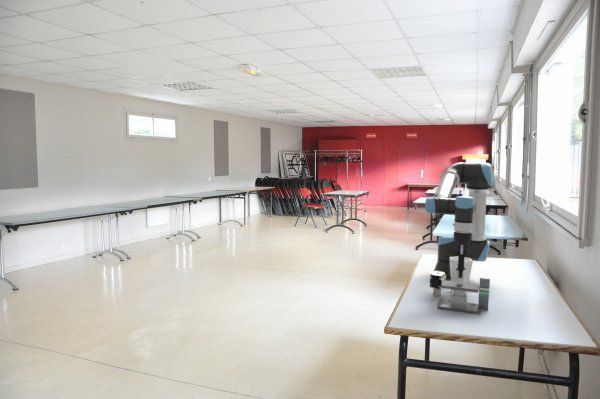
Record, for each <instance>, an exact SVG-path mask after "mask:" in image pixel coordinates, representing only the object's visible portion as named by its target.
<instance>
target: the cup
mask: <svg viewBox="0 0 600 399" xmlns="http://www.w3.org/2000/svg"><path fill="white" fill-rule="evenodd" d="M473 262H474V261H473V260H472V259H471V258H466V257H464V268H466V269H465V270H464V279H463V283H470V278H471V274H472V273H471V272H472V268H473ZM456 268H458V256H457V257H450V274H451V279H450V281H454V282H457V270H456ZM450 290H451V292H452V291H453V292H455V290H452V289H450ZM464 293H467V294H468V291H464Z"/></svg>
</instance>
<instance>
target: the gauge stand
mask: <svg viewBox="0 0 600 399" xmlns="http://www.w3.org/2000/svg"><path fill="white" fill-rule="evenodd" d="M490 284H491V279H490V278H484V277H479V283H478V287H479V288H487V289H489V291H487V290H479V289H478V299H477V300H478V303H473V302H467V301H468V292H467V293H464V296H456V295H454V294H455V292H453V291H451V295H450V296H451V297H450V300H449V299H442V298H441V299H440V298H439V299H438V304H437V310H444V311H450V312H451V311H454V312H459V313H466V314H472V315H473V314H474V315H480V314H481V312H480V311H486V312H488V311H489V302H490V300H489V299H490Z"/></svg>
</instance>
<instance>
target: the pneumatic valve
mask: <svg viewBox="0 0 600 399" xmlns="http://www.w3.org/2000/svg"><path fill="white" fill-rule="evenodd" d="M443 280H445V281H447V279H446V276H445V272H441V271H435V272H434V271H433V272H432V273H431V274H430V279H429V288H433V289H432V296H433V297H434V296H435V297H438V298H439V297H441V295H442V289H443V288H441V285H442V281H443Z"/></svg>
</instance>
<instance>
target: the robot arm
mask: <svg viewBox="0 0 600 399" xmlns="http://www.w3.org/2000/svg"><path fill="white" fill-rule="evenodd" d="M457 185H465V186H466V190H468V195H467V196H466V195H464V196H463V195H462V196H461V195H460V196H459V195H458V196H455V198H451V197H452V196H453V193H454V191H455V189H456V188H455V187H456V186H457ZM493 185H494V170H493V166H492V164H491V163H489V162H461V161H460V162H456V163H454V164H451V165H449V166H448V167H446V168H445V169H444V170H443V171H442V173H441V175H440V182H439V184H438V186H437V188H436V191H435V193H434V195H433V196H431V197H430V196H428V197H426V199H425V203H424V207H425V209H424V210H425V212H426V213H428V214H433V215H437V214H438V215H450V216H454V223H452V226H453V231H454V232H453V234H444V235H441V236H439V237H438V243H437V261H436V264H435V266H434V269H433V272H435V271H441V272H445V276H446V280H451V274H450V257H457V256H458V268H456V270H457V285H463V279H464V270H465V269H466V268H464V257H466V258H471V259H472V260H473V262H486V261H487V258H488V255H489V249H490V245H491V241H490V240H488V236H487V235H486V234H485V231H486V230H485V229H486V213H487V212H486V211H487V210H486V209H487V192H488V191H489V190H490V189H491V186H493Z"/></svg>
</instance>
